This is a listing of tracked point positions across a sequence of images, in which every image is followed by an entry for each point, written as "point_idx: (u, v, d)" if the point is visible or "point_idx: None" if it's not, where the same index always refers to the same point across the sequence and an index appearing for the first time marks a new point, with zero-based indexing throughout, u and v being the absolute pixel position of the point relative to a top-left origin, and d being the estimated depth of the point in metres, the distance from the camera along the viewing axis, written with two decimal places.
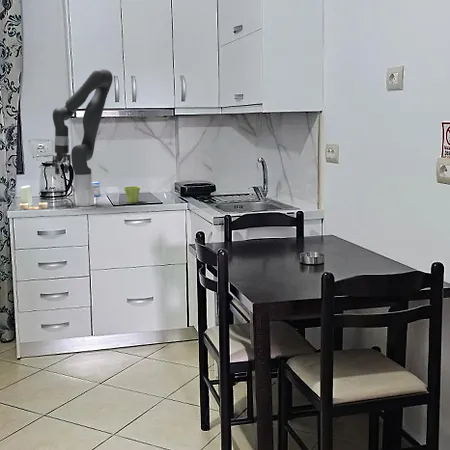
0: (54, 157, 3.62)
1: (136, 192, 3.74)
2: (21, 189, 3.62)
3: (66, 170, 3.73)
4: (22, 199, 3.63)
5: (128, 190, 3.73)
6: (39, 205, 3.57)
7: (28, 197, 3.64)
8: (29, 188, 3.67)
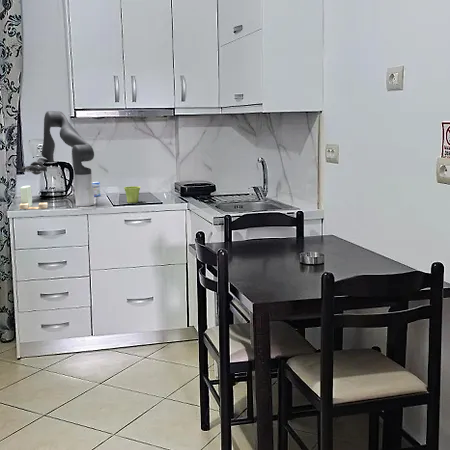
0: None
1: (136, 192, 3.74)
2: (21, 189, 3.62)
3: None
4: (22, 199, 3.63)
5: (128, 190, 3.73)
6: (39, 205, 3.57)
7: (28, 197, 3.64)
8: (29, 188, 3.67)
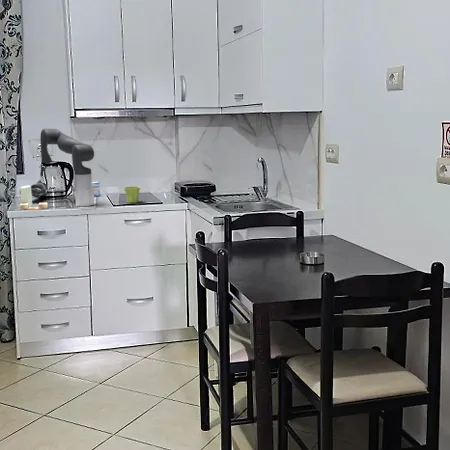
0: None
1: (136, 192, 3.74)
2: (21, 189, 3.62)
3: None
4: (22, 199, 3.63)
5: (128, 190, 3.73)
6: (39, 205, 3.57)
7: (28, 197, 3.64)
8: (29, 188, 3.67)
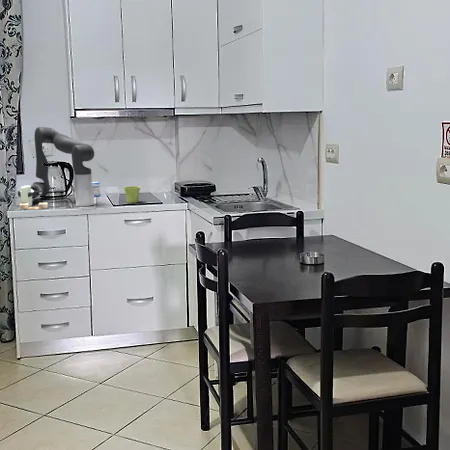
0: None
1: (136, 192, 3.74)
2: (21, 189, 3.62)
3: None
4: (22, 199, 3.63)
5: (128, 190, 3.73)
6: (39, 205, 3.57)
7: (28, 197, 3.64)
8: (29, 188, 3.67)
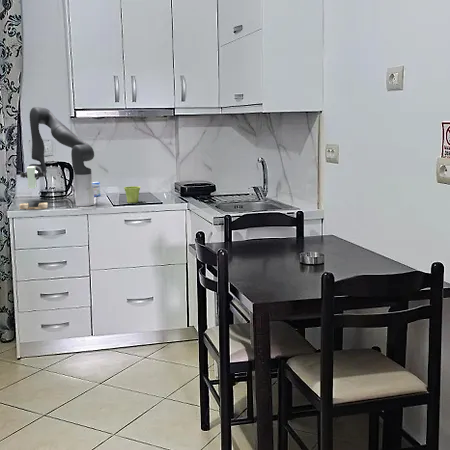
0: (20, 174, 3.62)
1: (136, 192, 3.74)
2: (28, 169, 3.53)
3: None
4: (29, 180, 3.54)
5: (128, 190, 3.73)
6: (39, 205, 3.57)
7: (34, 177, 3.55)
8: (34, 168, 3.58)
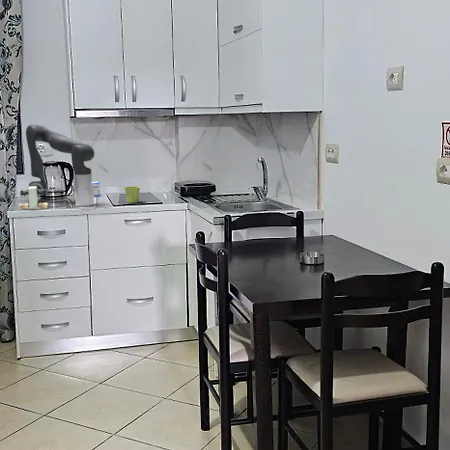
0: None
1: (136, 192, 3.74)
2: (29, 190, 3.54)
3: None
4: (30, 200, 3.55)
5: (128, 190, 3.73)
6: (39, 205, 3.57)
7: (36, 198, 3.57)
8: (36, 189, 3.59)
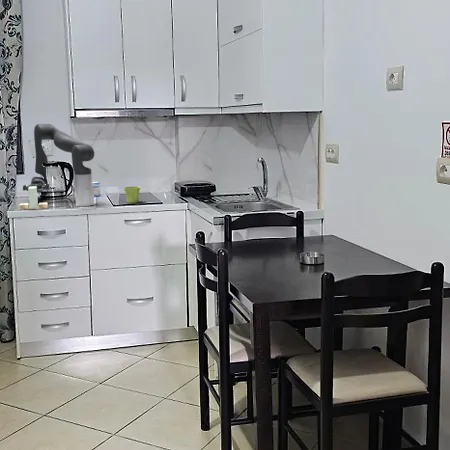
0: None
1: (136, 192, 3.74)
2: (29, 190, 3.54)
3: None
4: (30, 200, 3.55)
5: (128, 190, 3.73)
6: (39, 205, 3.57)
7: (36, 198, 3.57)
8: (36, 189, 3.59)
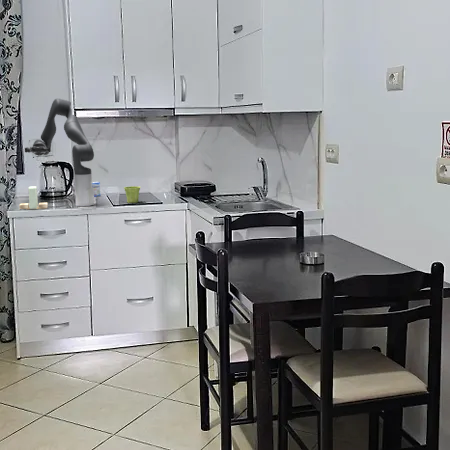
0: None
1: (136, 192, 3.74)
2: (29, 190, 3.54)
3: (44, 149, 3.76)
4: (30, 200, 3.55)
5: (128, 190, 3.73)
6: (39, 205, 3.57)
7: (36, 198, 3.57)
8: (36, 189, 3.59)
